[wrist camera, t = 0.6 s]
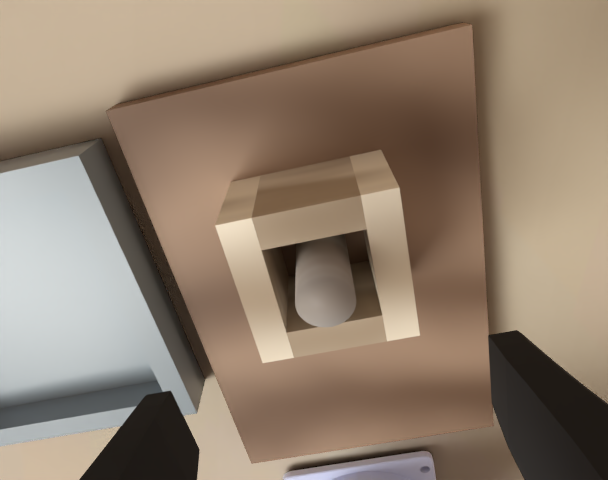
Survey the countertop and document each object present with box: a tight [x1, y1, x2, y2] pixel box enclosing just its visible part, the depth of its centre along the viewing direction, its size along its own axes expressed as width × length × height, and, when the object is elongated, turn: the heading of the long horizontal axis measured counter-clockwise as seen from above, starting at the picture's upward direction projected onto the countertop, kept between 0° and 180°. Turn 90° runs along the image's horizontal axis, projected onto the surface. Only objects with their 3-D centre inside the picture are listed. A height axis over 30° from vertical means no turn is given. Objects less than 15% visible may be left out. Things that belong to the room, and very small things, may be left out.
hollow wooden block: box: [215, 150, 420, 363], centre depth 17 cm, size 5×5×4 cm
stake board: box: [106, 22, 494, 463], centre depth 18 cm, size 18×12×6 cm, turn 13°
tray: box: [0, 138, 205, 446], centre depth 20 cm, size 12×12×2 cm
